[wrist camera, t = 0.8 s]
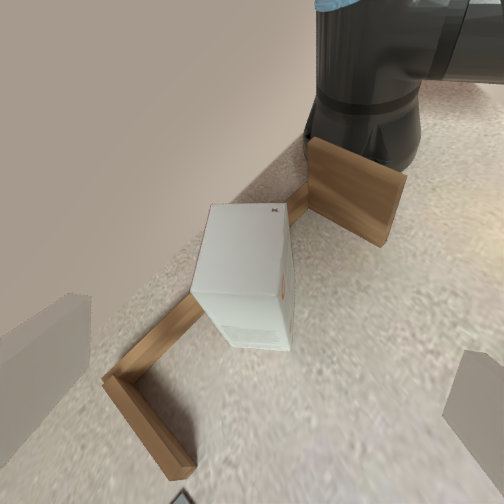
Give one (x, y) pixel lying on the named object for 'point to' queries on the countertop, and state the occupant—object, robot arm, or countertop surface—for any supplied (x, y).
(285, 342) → the small box
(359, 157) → the wooden u-shaped frame
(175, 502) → the mat
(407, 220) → the countertop surface
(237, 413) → the countertop surface
